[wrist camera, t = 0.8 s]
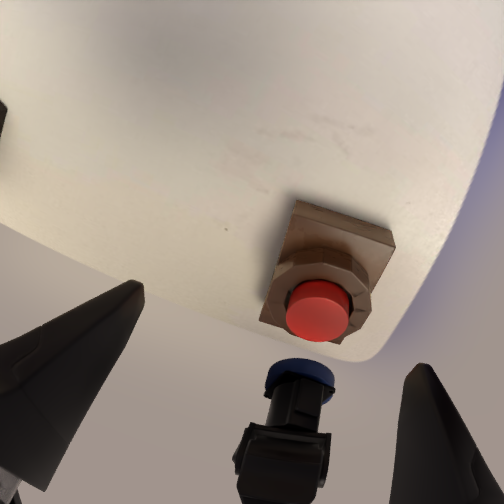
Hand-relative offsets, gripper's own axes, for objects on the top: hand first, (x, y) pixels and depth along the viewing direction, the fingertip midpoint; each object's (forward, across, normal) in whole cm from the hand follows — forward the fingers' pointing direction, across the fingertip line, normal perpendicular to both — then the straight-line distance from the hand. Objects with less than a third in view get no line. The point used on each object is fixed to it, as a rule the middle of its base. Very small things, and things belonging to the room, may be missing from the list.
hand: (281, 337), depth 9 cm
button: (+10, -3, +7) cm, 12 cm away
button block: (+14, -3, +7) cm, 15 cm away
